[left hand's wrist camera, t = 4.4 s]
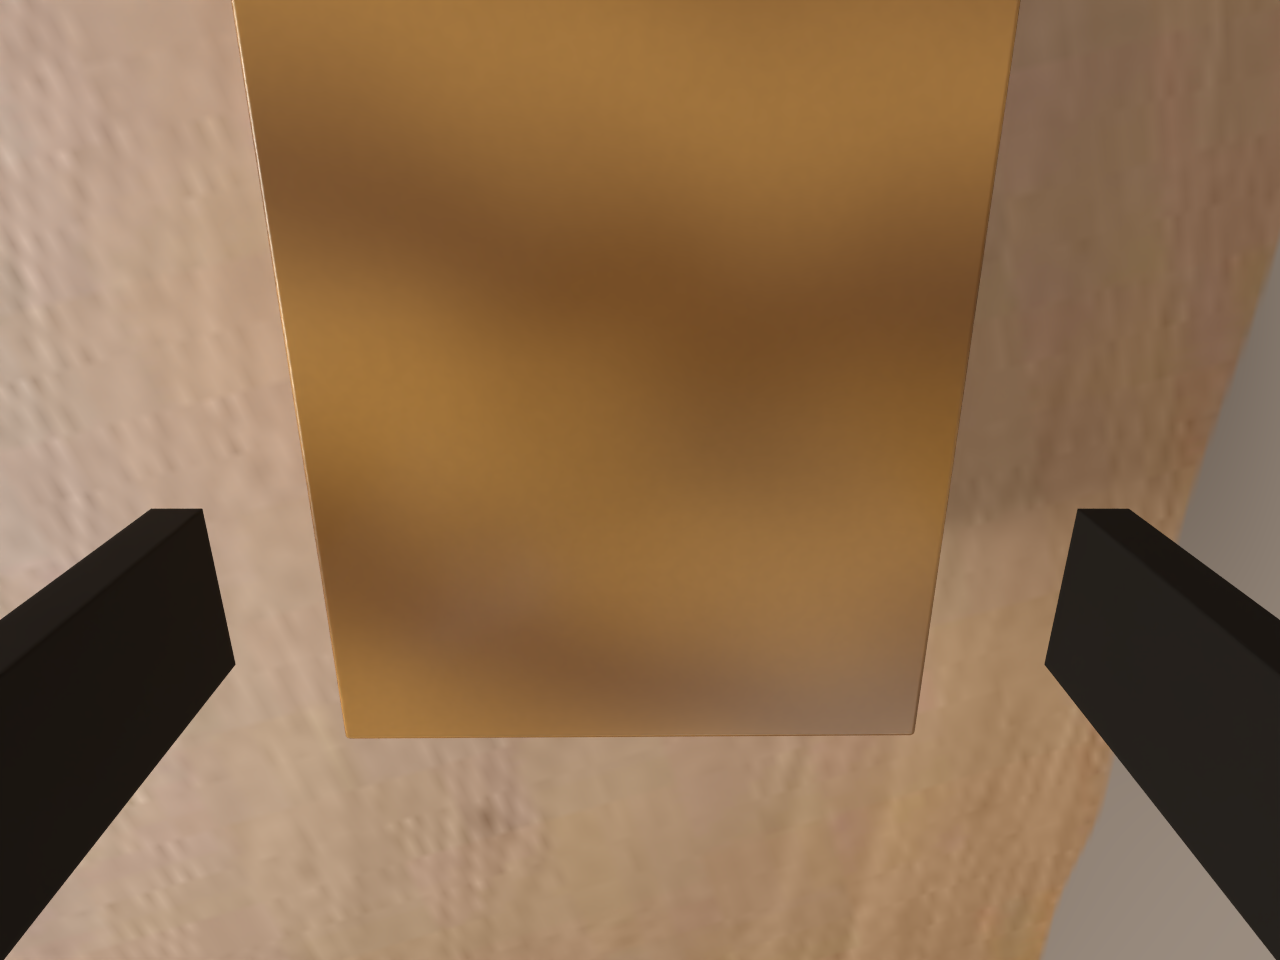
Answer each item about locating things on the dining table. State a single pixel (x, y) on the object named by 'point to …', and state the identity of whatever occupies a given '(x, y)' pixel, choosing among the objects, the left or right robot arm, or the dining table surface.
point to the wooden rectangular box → (627, 348)
